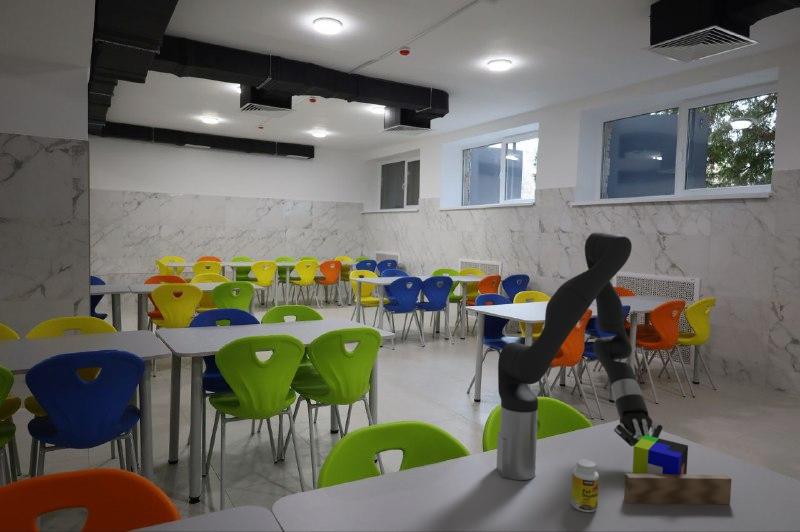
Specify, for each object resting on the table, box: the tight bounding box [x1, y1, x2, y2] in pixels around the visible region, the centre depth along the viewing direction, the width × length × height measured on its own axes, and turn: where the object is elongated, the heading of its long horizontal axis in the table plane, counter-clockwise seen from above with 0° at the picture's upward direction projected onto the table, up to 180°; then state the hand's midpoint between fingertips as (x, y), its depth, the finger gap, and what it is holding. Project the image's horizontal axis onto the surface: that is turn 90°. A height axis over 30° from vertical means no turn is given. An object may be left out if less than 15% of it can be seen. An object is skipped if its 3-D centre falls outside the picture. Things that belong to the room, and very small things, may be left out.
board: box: [623, 473, 732, 505], centre depth 121 cm, size 24×2×6 cm, turn 92°
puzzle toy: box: [632, 435, 689, 474], centre depth 129 cm, size 10×10×10 cm
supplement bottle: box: [570, 458, 600, 513], centre depth 118 cm, size 6×6×10 cm
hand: (648, 461), depth 135 cm, fingers closed
